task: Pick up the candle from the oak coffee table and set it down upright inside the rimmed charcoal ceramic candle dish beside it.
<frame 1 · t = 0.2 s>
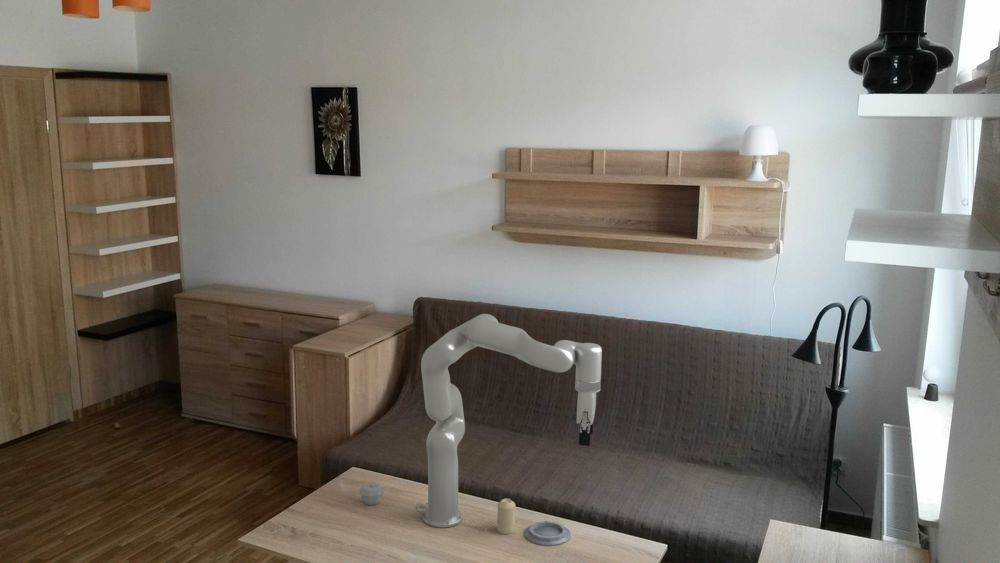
hand: (585, 439, 250), 31 cm above the table, fingers open, 9 cm apart
candle dish: (547, 534, 255), on the table
apple: (371, 503, 274), on the table
candle: (506, 531, 257), on the table
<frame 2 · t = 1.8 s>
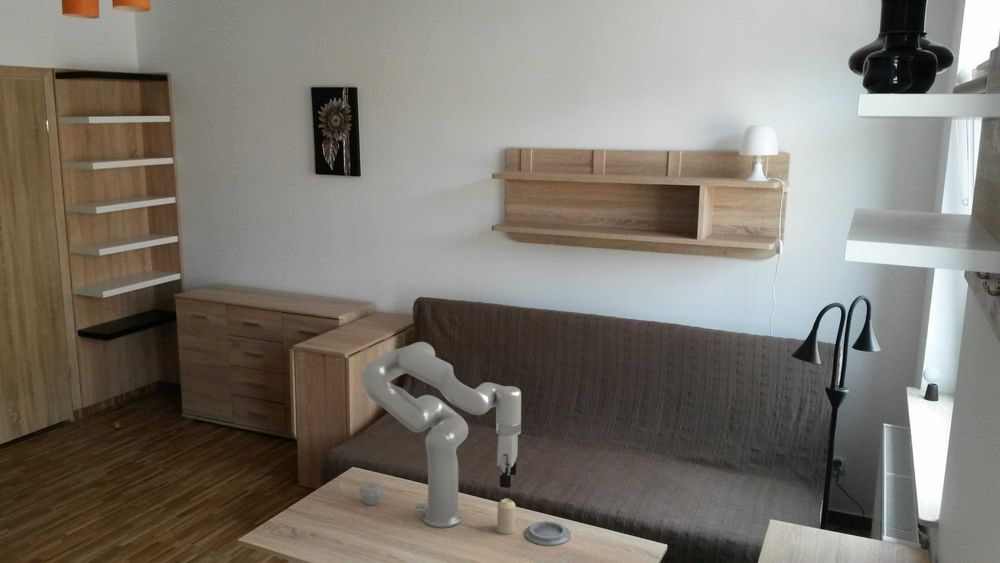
hand: (508, 480, 254), 16 cm above the table, fingers open, 9 cm apart
nothing on the table moved.
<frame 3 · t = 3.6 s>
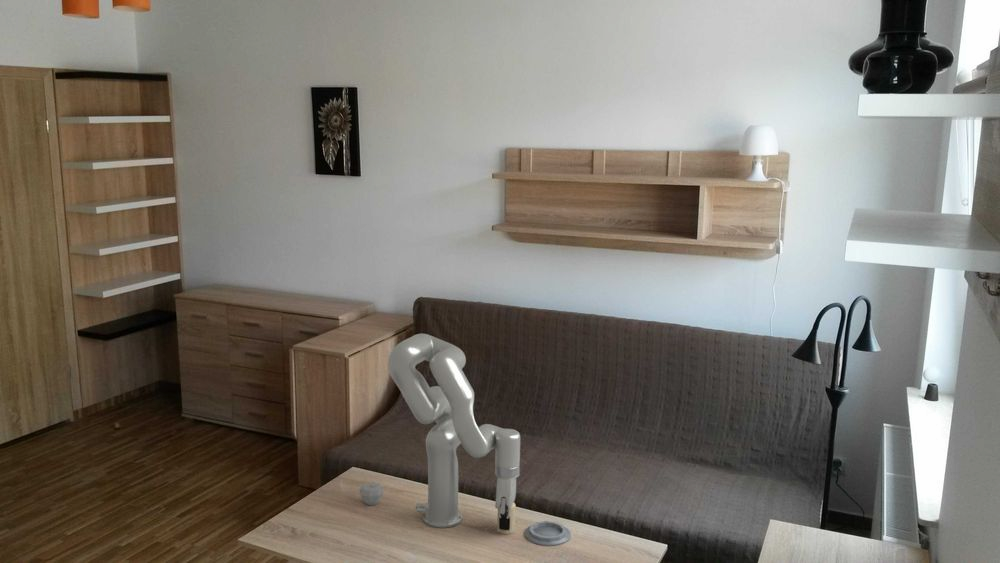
hand: (506, 524, 257), 2 cm above the table, fingers closed on candle, 5 cm apart
candle: (506, 531, 257), on the table, touching gripper
everything else where it was.
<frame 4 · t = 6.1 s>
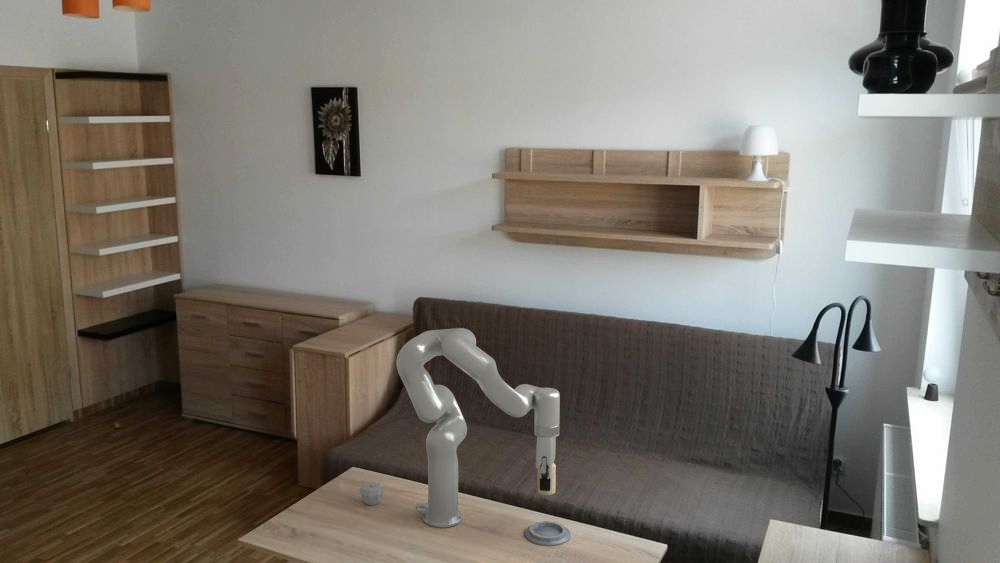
hand: (546, 485, 252), 16 cm above the table, fingers closed on candle, 5 cm apart
candle: (546, 492, 252), point 14 cm above the table, touching gripper
everything else where it was.
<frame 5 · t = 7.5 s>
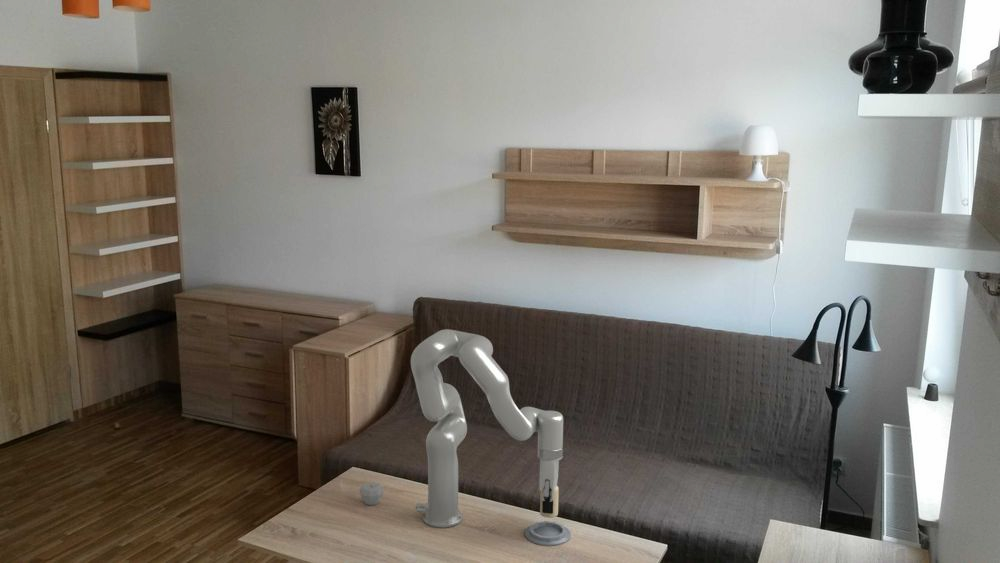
hand: (549, 507, 253), 9 cm above the table, fingers closed on candle, 5 cm apart
candle: (548, 514, 253), point 7 cm above the table, touching gripper
everything else where it was.
when the fingers open (4 cm above the table, at t = 8.8 s): candle drops 2 cm, resting on candle dish.
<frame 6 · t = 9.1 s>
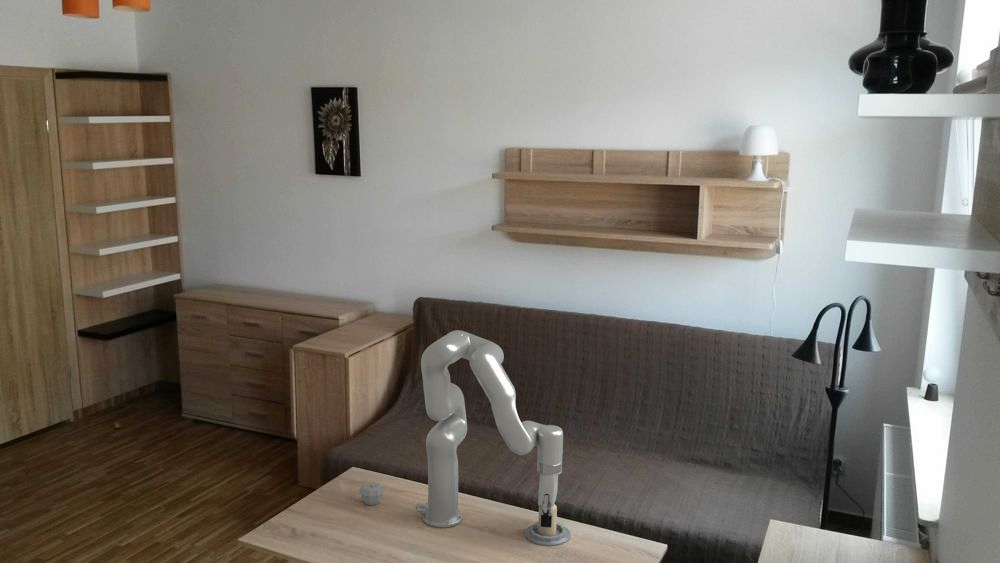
hand: (548, 519, 254), 5 cm above the table, fingers open, 8 cm apart
candle: (547, 533, 254), resting on candle dish
everything else where it was.
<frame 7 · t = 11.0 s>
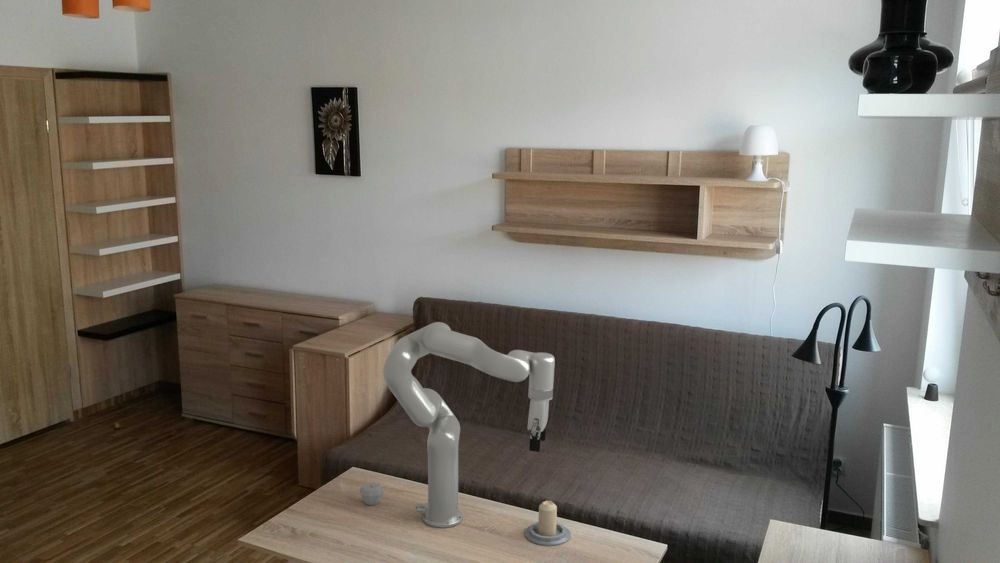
hand: (537, 445, 259), 25 cm above the table, fingers open, 9 cm apart
nothing on the table moved.
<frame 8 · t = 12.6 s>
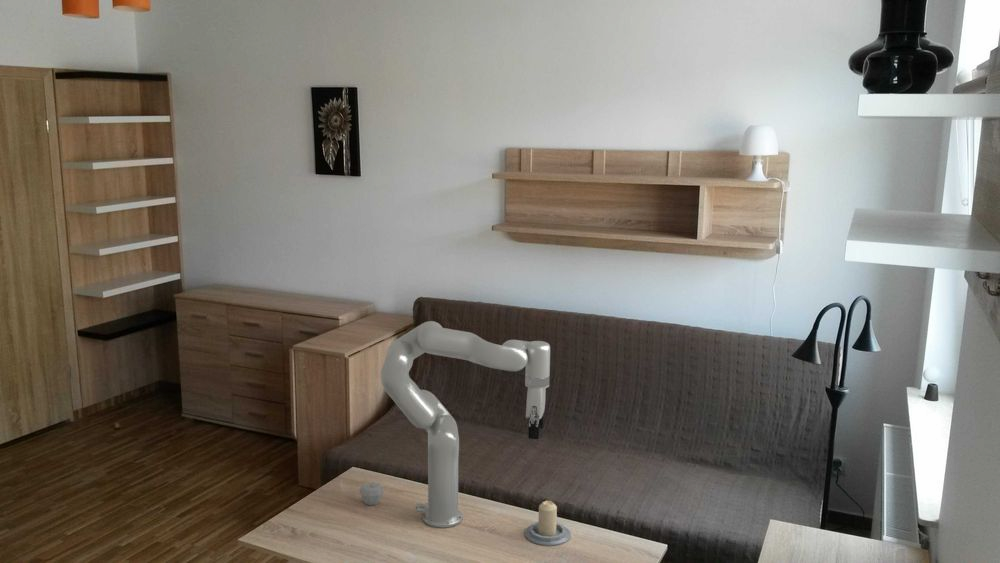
hand: (535, 433, 261), 28 cm above the table, fingers open, 9 cm apart
nothing on the table moved.
at the end: candle 0.2 cm off-centre on the candle dish, point 0.4 cm above the candle dish's base; candle tilted 0°; the gripper is holding nothing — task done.
